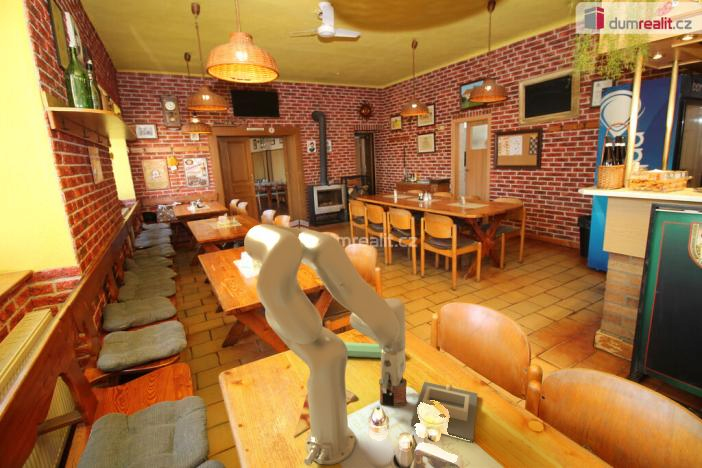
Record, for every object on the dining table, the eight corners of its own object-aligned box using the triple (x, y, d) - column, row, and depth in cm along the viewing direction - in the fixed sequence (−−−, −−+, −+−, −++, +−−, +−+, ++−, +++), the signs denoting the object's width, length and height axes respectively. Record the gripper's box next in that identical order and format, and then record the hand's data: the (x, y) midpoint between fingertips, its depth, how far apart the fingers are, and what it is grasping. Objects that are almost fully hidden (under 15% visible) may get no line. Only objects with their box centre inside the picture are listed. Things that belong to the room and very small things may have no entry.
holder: (472, 442, 87) (473, 429, 86) (410, 426, 94) (410, 412, 93) (477, 396, 103) (478, 384, 102) (424, 384, 110) (424, 373, 109)
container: (400, 340, 125) (333, 337, 128) (401, 354, 120) (330, 350, 124) (400, 350, 129) (335, 346, 132) (400, 364, 124) (332, 360, 127)
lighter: (406, 399, 104) (406, 370, 101) (407, 407, 100) (407, 377, 98) (379, 398, 105) (378, 369, 102) (379, 406, 101) (378, 376, 99)
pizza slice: (267, 408, 103) (266, 402, 103) (326, 375, 117) (326, 370, 117) (294, 439, 92) (293, 432, 91) (356, 399, 105) (356, 393, 105)
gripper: (396, 361, 89) (397, 417, 93) (412, 329, 104) (412, 378, 108) (369, 355, 92) (371, 410, 96) (388, 325, 107) (389, 373, 111)
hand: (393, 393), depth 102 cm, fingers open, 9 cm apart
